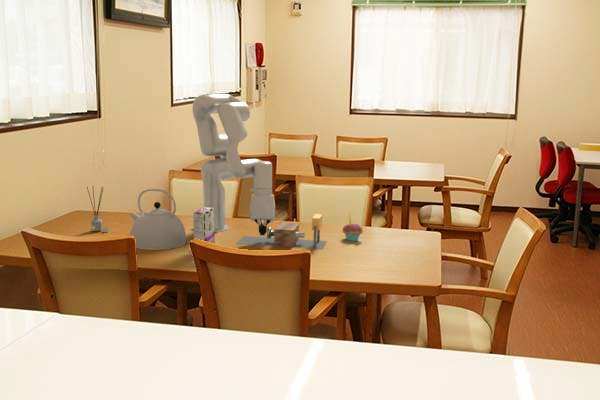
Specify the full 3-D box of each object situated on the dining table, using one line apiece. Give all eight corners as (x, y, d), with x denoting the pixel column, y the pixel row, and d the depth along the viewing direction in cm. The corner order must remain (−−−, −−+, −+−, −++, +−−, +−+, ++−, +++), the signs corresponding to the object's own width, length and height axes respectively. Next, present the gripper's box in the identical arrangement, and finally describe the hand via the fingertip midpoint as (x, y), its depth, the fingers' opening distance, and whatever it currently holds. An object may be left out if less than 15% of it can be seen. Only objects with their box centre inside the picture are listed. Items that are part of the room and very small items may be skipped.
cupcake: (348, 243, 273) (349, 215, 271) (338, 238, 281) (339, 211, 278) (366, 241, 277) (367, 214, 275) (355, 236, 285) (356, 210, 282)
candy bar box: (203, 246, 265) (202, 206, 262) (214, 247, 264) (214, 207, 261) (193, 253, 254) (192, 212, 251) (205, 254, 253) (205, 213, 250)
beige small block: (311, 230, 264) (312, 218, 263) (314, 225, 271) (315, 213, 270) (319, 230, 263) (319, 218, 262) (321, 226, 271) (322, 214, 270)
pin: (266, 239, 269) (266, 228, 269) (269, 236, 274) (269, 226, 273) (303, 241, 267) (303, 231, 266) (305, 239, 271) (305, 228, 271)
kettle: (113, 245, 264) (111, 190, 260) (146, 233, 285) (144, 182, 280) (166, 252, 255) (165, 196, 251) (196, 239, 276) (195, 186, 272)
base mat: (235, 245, 268) (235, 243, 268) (243, 237, 280) (243, 235, 280) (322, 250, 262) (322, 249, 262) (326, 242, 274) (327, 241, 274)
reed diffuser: (84, 231, 285) (82, 186, 281) (94, 227, 291) (92, 183, 287) (104, 233, 282) (103, 188, 278) (114, 230, 288) (112, 185, 284)
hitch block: (274, 245, 266) (274, 224, 264) (280, 238, 277) (280, 217, 275) (315, 248, 263) (316, 226, 261) (319, 241, 274) (320, 220, 273)
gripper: (242, 192, 266) (242, 235, 269) (278, 193, 263) (278, 238, 267) (247, 188, 273) (247, 231, 277) (282, 190, 270) (282, 233, 274)
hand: (262, 234), depth 272 cm, fingers closed
